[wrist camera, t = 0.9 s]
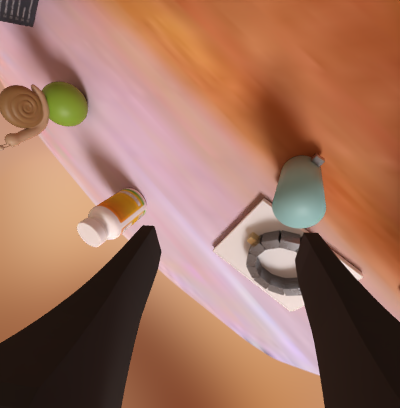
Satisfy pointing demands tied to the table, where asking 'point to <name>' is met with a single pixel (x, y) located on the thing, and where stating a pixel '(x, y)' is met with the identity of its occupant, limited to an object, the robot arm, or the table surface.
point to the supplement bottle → (112, 217)
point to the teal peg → (300, 192)
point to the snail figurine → (40, 109)
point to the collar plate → (268, 254)
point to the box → (18, 11)
